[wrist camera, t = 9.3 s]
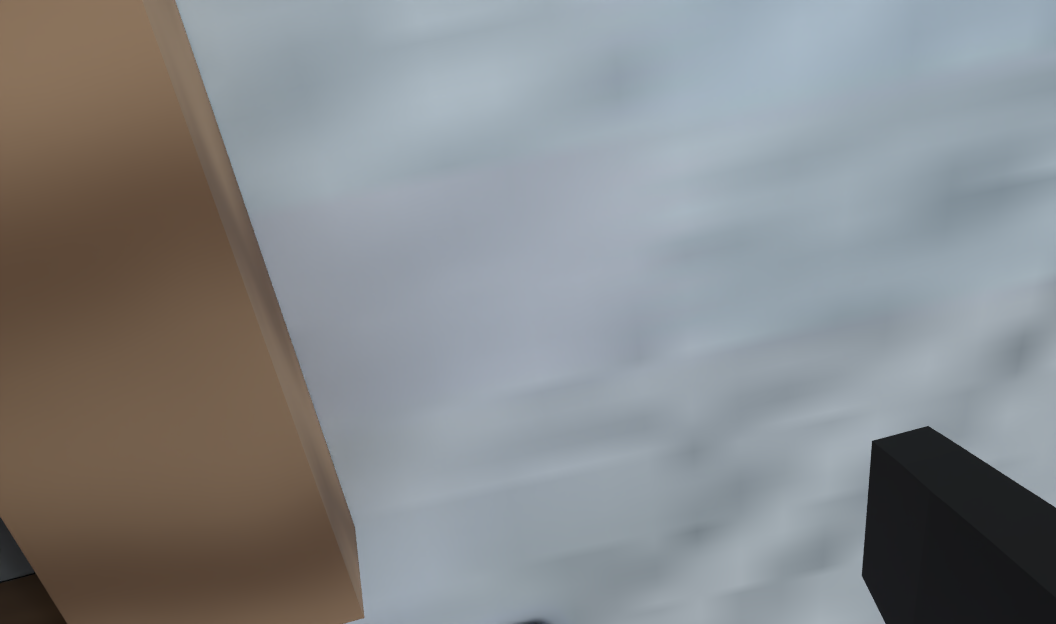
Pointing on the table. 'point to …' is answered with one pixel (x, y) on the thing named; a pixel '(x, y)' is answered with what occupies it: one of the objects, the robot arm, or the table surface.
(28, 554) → the pocket board
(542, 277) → the table surface
